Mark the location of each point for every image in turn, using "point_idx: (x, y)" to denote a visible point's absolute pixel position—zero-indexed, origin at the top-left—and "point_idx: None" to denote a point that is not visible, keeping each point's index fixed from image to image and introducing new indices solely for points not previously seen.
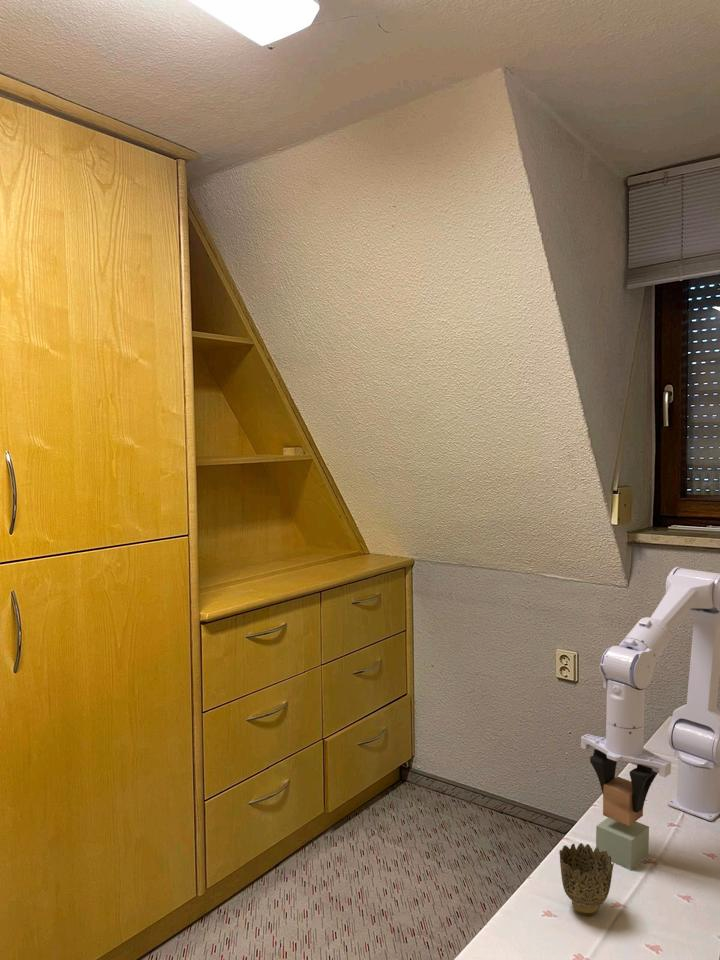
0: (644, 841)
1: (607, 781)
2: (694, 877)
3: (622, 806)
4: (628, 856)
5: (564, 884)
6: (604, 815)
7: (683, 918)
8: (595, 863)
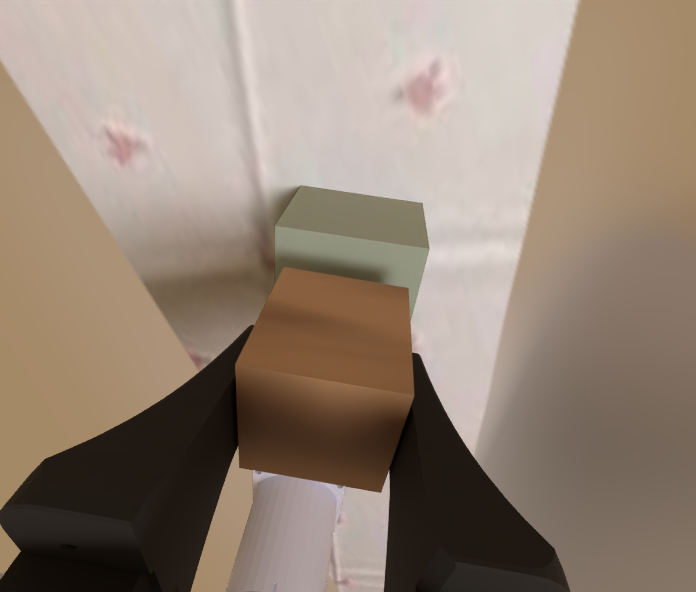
0: None
1: (407, 437)
2: (166, 258)
3: (299, 318)
4: (301, 202)
5: None
6: (401, 288)
7: (54, 16)
8: None
